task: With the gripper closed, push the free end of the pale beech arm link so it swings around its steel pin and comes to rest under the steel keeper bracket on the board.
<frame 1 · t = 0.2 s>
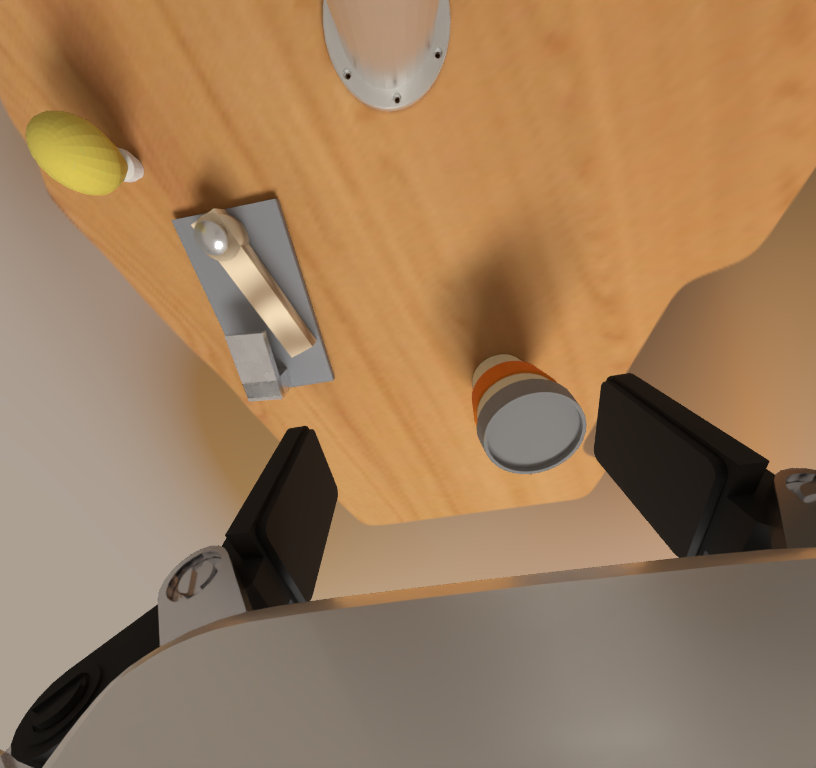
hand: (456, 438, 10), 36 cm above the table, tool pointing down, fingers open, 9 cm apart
arm link: (260, 289, 40), point 3 cm above the table, hinge at 18.0°
pin cap: (213, 238, 35), point 4 cm above the table
keeper bracket: (261, 362, 44), on the base board, point 3 cm above the table
reusable coffee cup: (499, 379, 50), on the table
light bulb: (134, 167, 36), on the table
base board: (265, 308, 44), on the table
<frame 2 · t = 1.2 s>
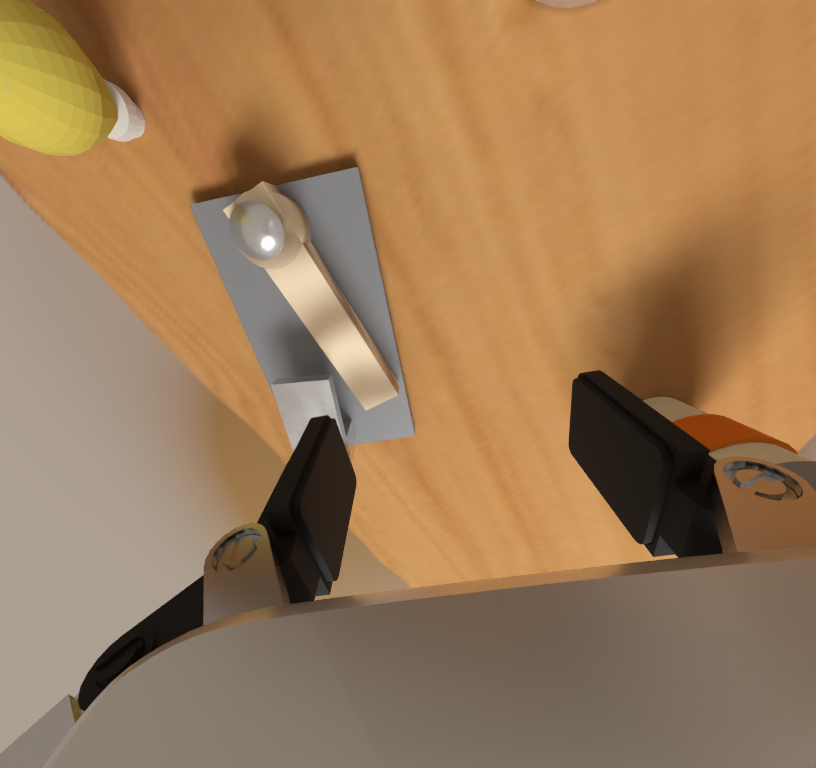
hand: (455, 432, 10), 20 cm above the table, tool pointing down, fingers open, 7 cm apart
arm link: (325, 311, 26), point 3 cm above the table, hinge at 18.0°
pin cap: (260, 231, 21), point 4 cm above the table
keeper bracket: (319, 417, 30), on the base board, point 3 cm above the table
reusable coffee cup: (646, 429, 35), on the table
light bulb: (129, 118, 22), on the table
base board: (324, 337, 30), on the table
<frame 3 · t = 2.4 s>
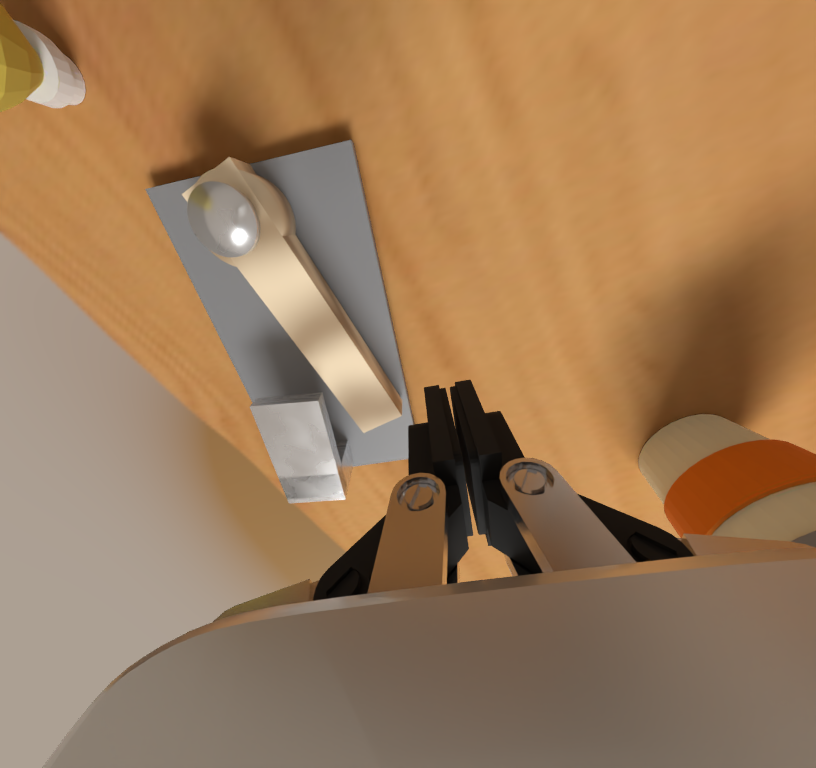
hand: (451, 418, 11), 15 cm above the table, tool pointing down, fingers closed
arm link: (314, 318, 22), point 3 cm above the table, hinge at 18.0°
pin cap: (228, 221, 17), point 4 cm above the table
keeper bracket: (310, 439, 26), on the base board, point 3 cm above the table
reusable coffee cup: (683, 449, 31), on the table
light bulb: (66, 79, 18), on the table
base board: (315, 347, 25), on the table
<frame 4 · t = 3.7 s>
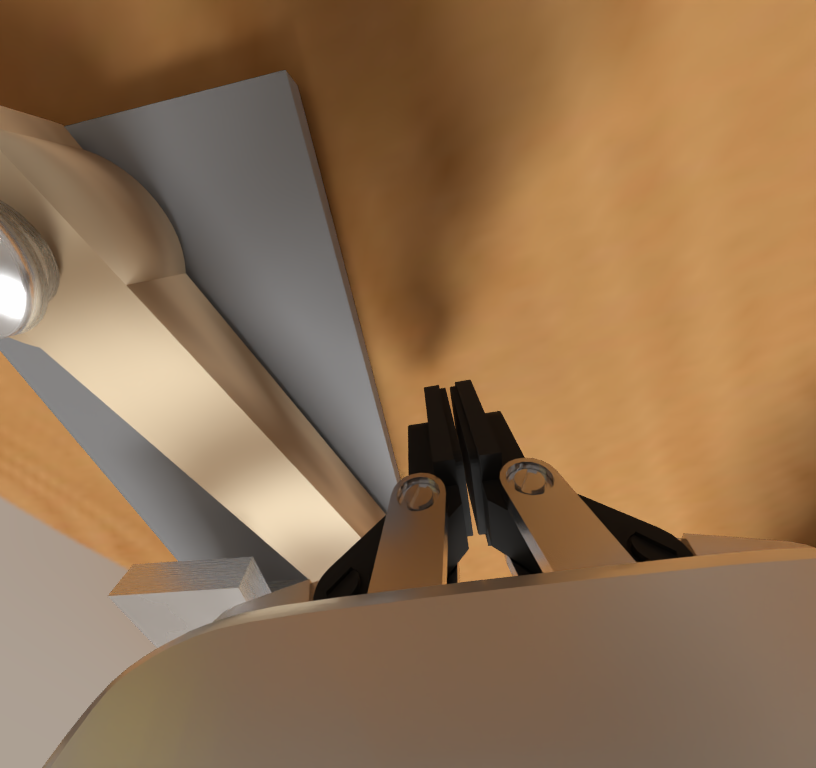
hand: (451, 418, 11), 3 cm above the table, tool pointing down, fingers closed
arm link: (234, 427, 11), point 3 cm above the table, hinge at 18.0°
keeper bracket: (245, 602, 15), on the base board, point 3 cm above the table
base board: (254, 450, 15), on the table
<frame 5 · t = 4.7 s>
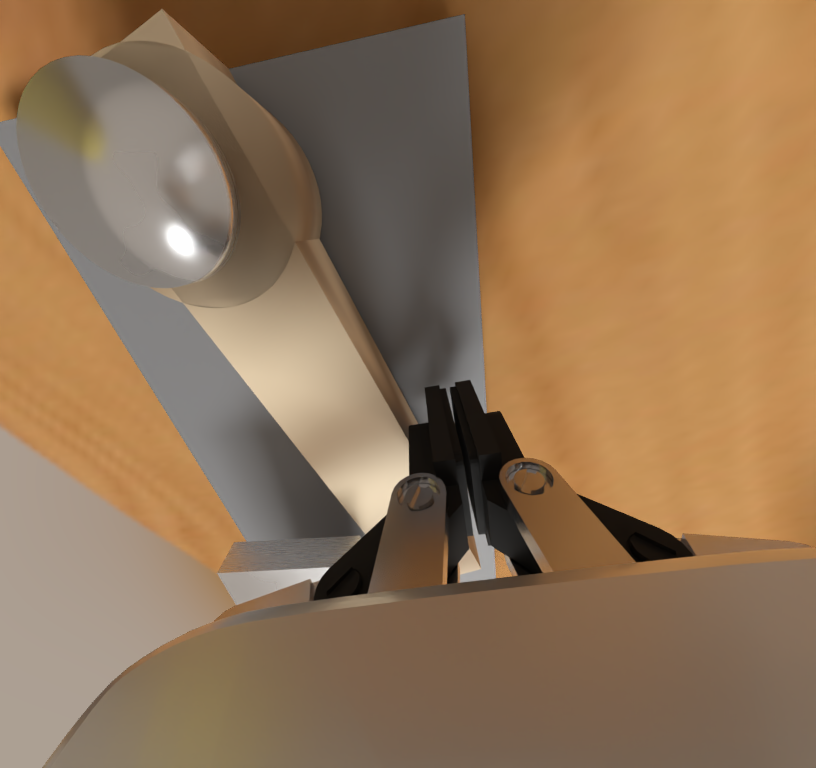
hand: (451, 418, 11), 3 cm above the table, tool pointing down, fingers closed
arm link: (343, 403, 11), point 3 cm above the table, hinge at 15.2°, touching gripper
pin cap: (154, 192, 6), point 4 cm above the table
keeper bracket: (327, 586, 15), on the base board, point 3 cm above the table
base board: (341, 429, 15), on the table
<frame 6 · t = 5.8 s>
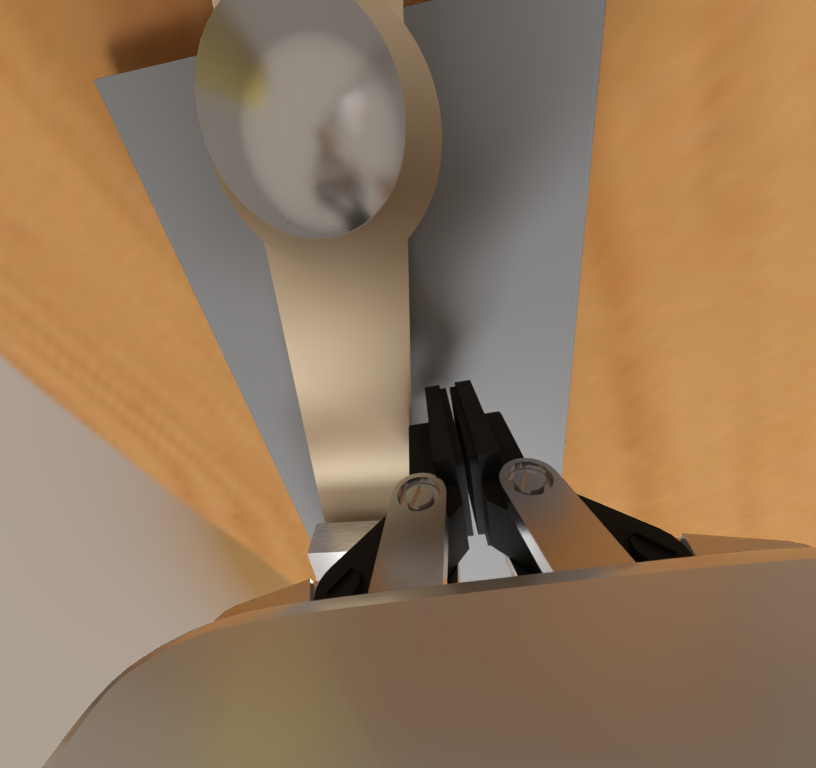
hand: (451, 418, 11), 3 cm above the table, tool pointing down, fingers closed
arm link: (361, 394, 11), point 2 cm above the table, hinge at -8.0°, touching gripper
pin cap: (313, 134, 6), point 4 cm above the table
keeper bracket: (394, 572, 15), on the base board, point 3 cm above the table
base board: (411, 411, 14), on the table
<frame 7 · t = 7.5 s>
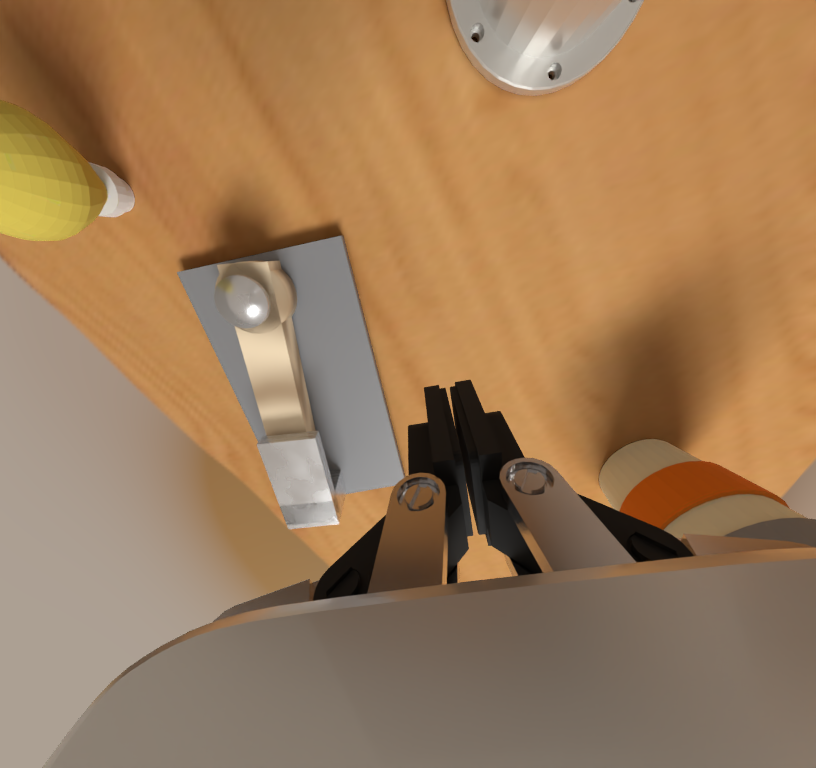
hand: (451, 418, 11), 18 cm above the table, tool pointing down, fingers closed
arm link: (278, 379, 26), point 3 cm above the table, hinge at -8.1°
pin cap: (245, 301, 22), point 4 cm above the table
keeper bracket: (307, 471, 30), on the base board, point 3 cm above the table
reusable coffee cup: (637, 470, 35), on the table
light bulb: (120, 194, 23), on the table
base board: (312, 390, 30), on the table
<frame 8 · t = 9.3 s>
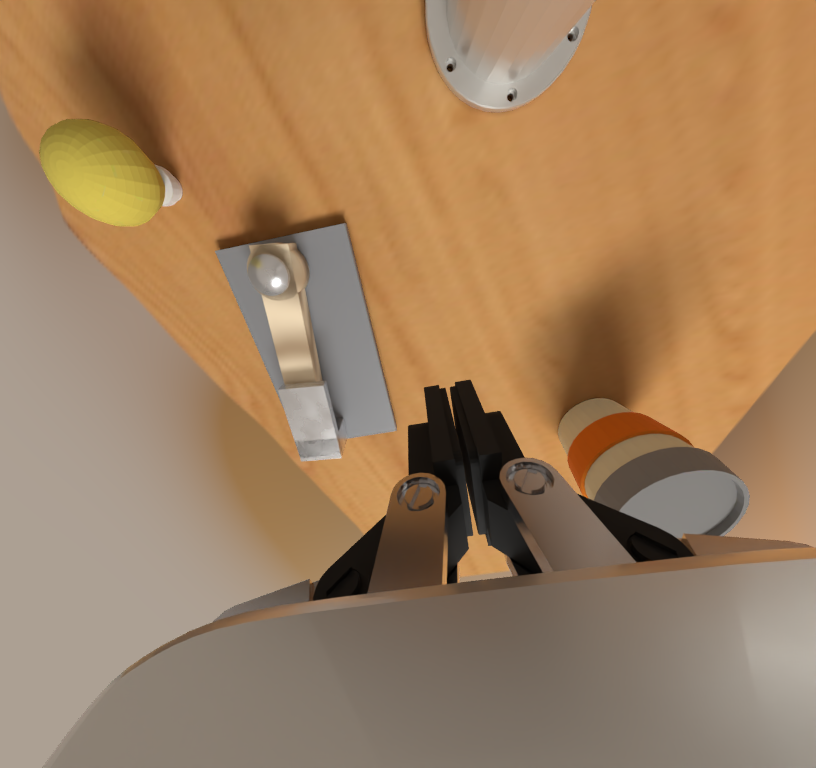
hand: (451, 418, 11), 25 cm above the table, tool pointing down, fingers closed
arm link: (294, 339, 33), point 2 cm above the table, hinge at -8.1°
pin cap: (270, 274, 28), point 4 cm above the table
keeper bracket: (316, 415, 37), on the base board, point 3 cm above the table
reusable coffee cup: (590, 425, 42), on the table
light bulb: (170, 188, 29), on the table
base board: (320, 350, 37), on the table
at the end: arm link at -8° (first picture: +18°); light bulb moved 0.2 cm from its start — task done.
